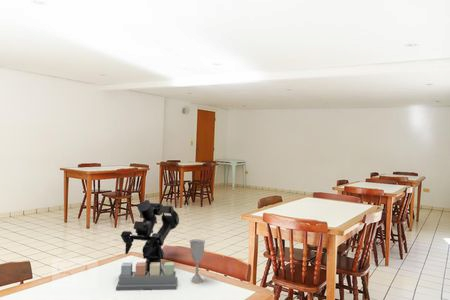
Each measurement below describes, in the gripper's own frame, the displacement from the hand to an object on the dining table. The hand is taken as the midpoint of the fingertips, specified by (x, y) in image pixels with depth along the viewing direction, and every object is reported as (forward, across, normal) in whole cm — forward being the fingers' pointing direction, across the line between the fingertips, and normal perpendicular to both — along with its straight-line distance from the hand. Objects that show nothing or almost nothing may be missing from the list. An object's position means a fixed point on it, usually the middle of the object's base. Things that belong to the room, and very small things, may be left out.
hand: (135, 254), depth 158 cm
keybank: (+7, +5, +12) cm, 14 cm away
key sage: (+3, +13, +10) cm, 17 cm away
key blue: (+7, -4, +7) cm, 11 cm away
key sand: (+4, +8, +9) cm, 13 cm away
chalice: (0, +24, +18) cm, 30 cm away
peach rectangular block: (+5, +2, +8) cm, 10 cm away
